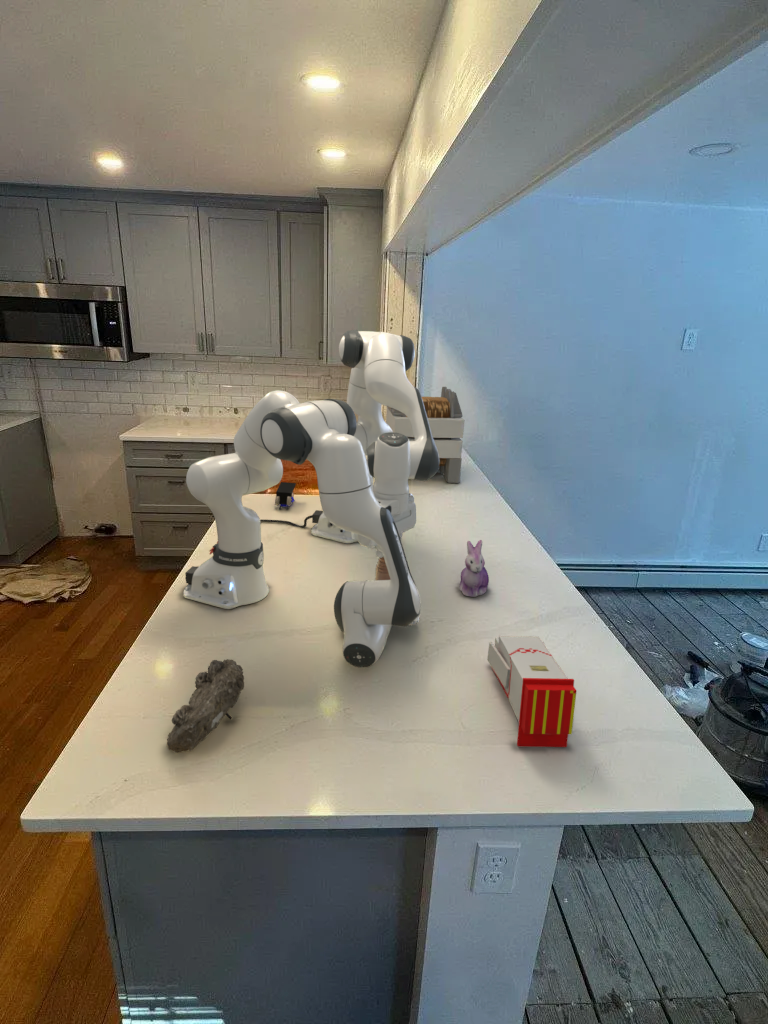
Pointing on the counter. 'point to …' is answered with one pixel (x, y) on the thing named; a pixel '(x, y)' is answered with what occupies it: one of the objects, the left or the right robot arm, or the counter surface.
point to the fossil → (206, 705)
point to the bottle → (381, 570)
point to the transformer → (438, 430)
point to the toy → (534, 690)
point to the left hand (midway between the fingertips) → (385, 592)
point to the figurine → (474, 572)
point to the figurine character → (285, 494)
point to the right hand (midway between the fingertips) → (387, 553)
